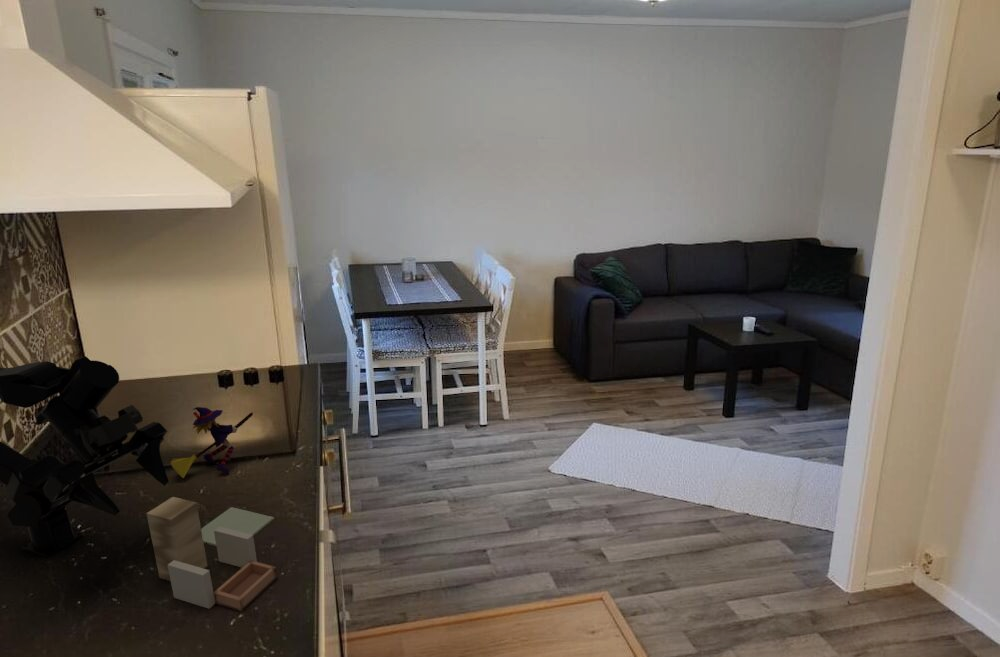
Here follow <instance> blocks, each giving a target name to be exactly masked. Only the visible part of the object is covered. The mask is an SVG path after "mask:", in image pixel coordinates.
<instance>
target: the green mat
mask: <svg viewBox="0 0 1000 657" xmlns="http://www.w3.org/2000/svg"><path fill="white" fill-rule="evenodd" d="M274 520H275V517H274V516H269V515H265V514H261V513H257V512H254V511H250V510H249V511H248V510H245V509H241V508H236V507H233V506H231V507H229V508H228V509H227V510H225V511H224V512H222V513H221V514H220V515H218V516H217V517H215V518H214V519H213V520H211V521H210V522H208V523H207V524H206V525H204V526H203V527H201V531H202V537H203V543H204V544H206V543H207V544H206V545H210V546H214V547H217V546H216V540H215V534H214V530H215V529H216V528H218V527H219V526H220V527H224V528H228V529H232V530H235V531H239V532H243V533H247V534H251V535H253V537H255V536H256V535H257V534H258V533H259V532H260V531H261V530H263V529H264V528H265V527H266V526H267V525H269V524H270V523H271V522H272V521H274Z"/></svg>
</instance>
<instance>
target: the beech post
mask: <svg viewBox="0 0 1000 657" xmlns="http://www.w3.org/2000/svg"><path fill="white" fill-rule="evenodd" d="M146 517H147V522H148V527H149V533H150V537H151V542H152V547H153V551H154V552H153V553H154V557H155V561H156V562H155V563H156V567H157V571H158V576H159V579H161V578H162V580H165V579H166V580H165V581H169V582H171V580H170V575H169V570H168V564H169V563H171V562H172V561H173V560H175V561H179V562H182V563H186V564H189V565H193V566H196V567H200V568H203V569H206V568H207V567H208V560H207V555H206V550H205V543H203V537H202V531H201V529H202V527H201V526H202V525H201V522H200V521H201V520H200V515H199V511H198V505H197V502H196V501H192V500H187V499H184V498H179V497H177V496H176V497H175V496H172V497H170V498H168V499H166V500H165V501H163V502H162V503H161V504H159V505H158V506H156V507H154V508H152V509H151V510H150V511H148V512H146Z"/></svg>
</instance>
